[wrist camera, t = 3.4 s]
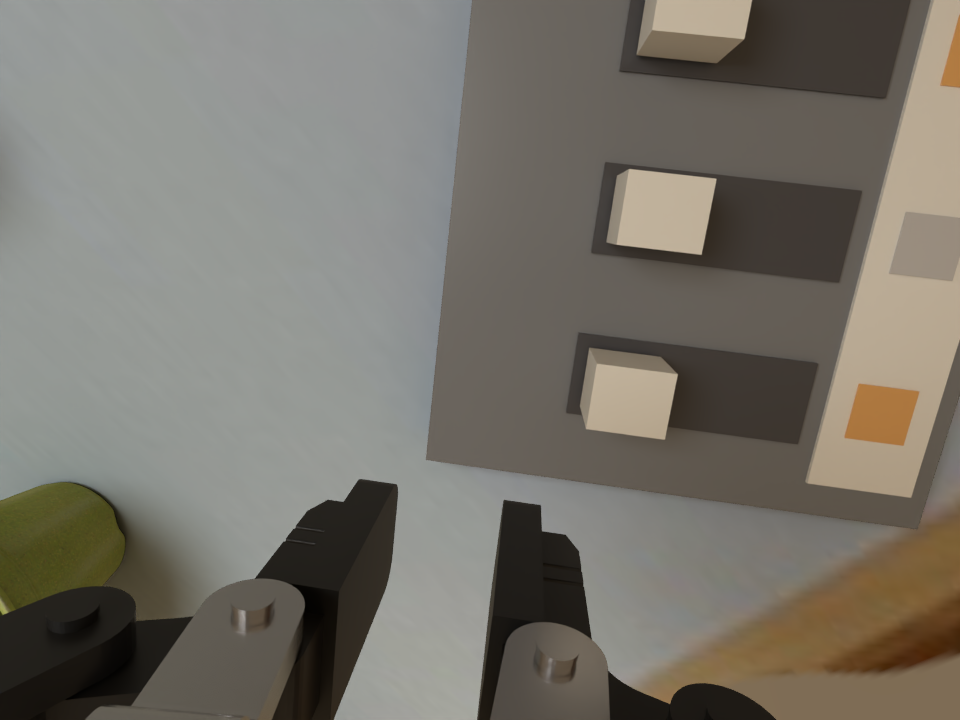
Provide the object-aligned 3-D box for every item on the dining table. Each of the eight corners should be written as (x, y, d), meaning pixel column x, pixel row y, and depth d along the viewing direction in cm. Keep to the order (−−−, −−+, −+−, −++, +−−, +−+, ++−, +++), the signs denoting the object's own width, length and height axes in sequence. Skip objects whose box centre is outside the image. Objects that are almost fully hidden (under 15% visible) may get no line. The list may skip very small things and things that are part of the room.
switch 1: (636, 55, 23) (652, 30, 20) (648, -21, 22) (666, -59, 19) (716, 63, 22) (744, 39, 19) (731, -14, 22) (761, -51, 19)
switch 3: (579, 405, 26) (586, 429, 23) (589, 347, 25) (596, 363, 22) (649, 415, 26) (664, 440, 23) (660, 356, 25) (677, 374, 22)
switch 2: (606, 242, 24) (616, 244, 21) (616, 175, 24) (629, 168, 21) (680, 251, 24) (701, 254, 21) (693, 184, 23) (716, 178, 20)
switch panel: (433, 444, 29) (424, 462, 27) (490, -115, 24) (486, -150, 22) (890, 508, 28) (921, 532, 26) (1062, -65, 23) (1120, -96, 20)
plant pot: (124, 636, 34) (-12, 775, 25) (-28, 560, 33) (-217, 674, 25) (181, 504, 31) (53, 608, 23) (19, 421, 31) (-171, 495, 23)
